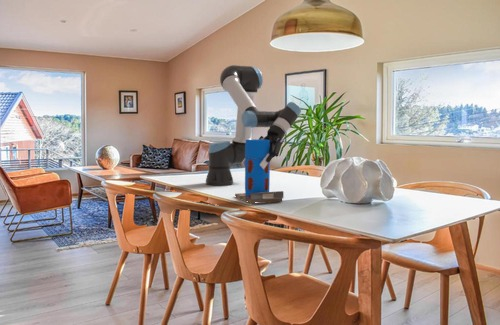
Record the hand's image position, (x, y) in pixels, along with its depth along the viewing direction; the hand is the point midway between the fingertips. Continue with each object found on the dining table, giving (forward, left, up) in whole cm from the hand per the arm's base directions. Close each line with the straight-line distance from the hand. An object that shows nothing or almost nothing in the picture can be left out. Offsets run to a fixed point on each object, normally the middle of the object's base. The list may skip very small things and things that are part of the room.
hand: (252, 165), depth 192 cm
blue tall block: (-1, +3, -14) cm, 14 cm away
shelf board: (-2, +4, -15) cm, 16 cm away
